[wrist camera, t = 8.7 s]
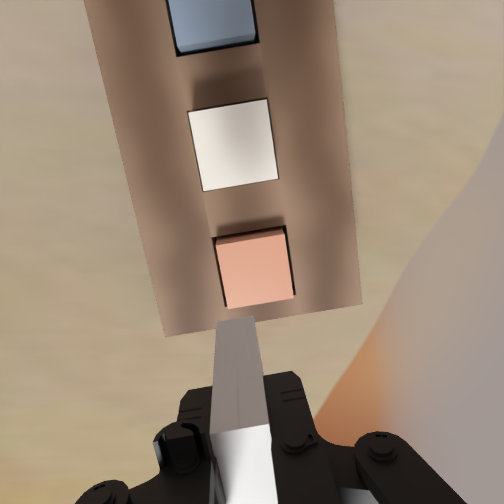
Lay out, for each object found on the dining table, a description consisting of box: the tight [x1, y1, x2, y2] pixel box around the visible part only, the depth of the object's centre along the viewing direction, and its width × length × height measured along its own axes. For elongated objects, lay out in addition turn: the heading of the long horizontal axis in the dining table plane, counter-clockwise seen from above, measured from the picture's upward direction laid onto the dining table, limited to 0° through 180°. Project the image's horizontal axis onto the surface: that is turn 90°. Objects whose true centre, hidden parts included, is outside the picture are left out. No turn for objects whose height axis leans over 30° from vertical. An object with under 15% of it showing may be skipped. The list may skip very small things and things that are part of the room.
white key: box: [188, 99, 278, 191], centre depth 25 cm, size 4×4×3 cm
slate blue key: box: [168, 0, 255, 56], centre depth 24 cm, size 4×4×3 cm
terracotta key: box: [216, 226, 294, 309], centre depth 28 cm, size 4×4×3 cm
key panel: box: [84, 0, 363, 337], centre depth 28 cm, size 14×24×6 cm, turn 9°
